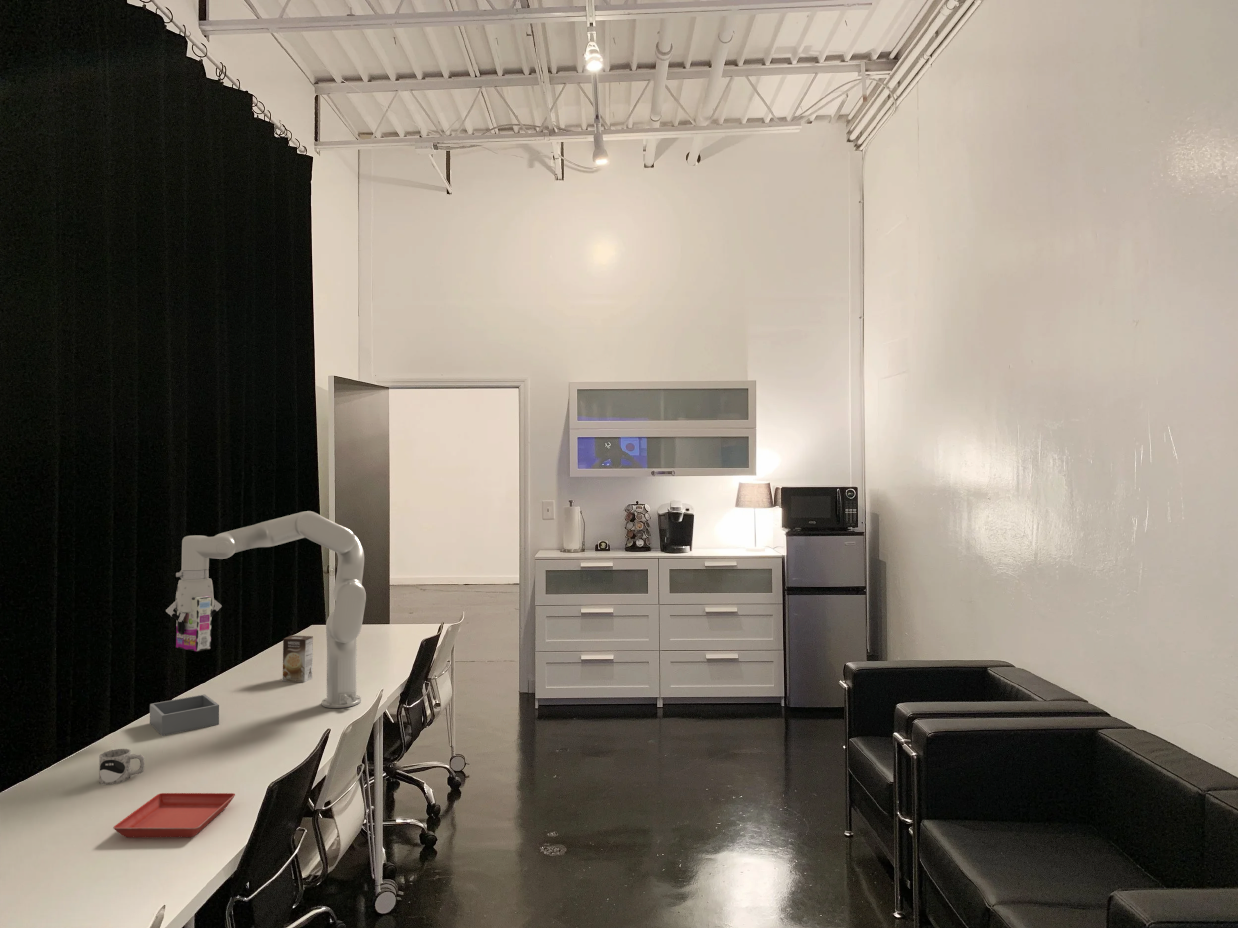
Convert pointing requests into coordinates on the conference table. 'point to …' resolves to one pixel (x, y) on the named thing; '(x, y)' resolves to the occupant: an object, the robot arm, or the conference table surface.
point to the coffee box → (297, 658)
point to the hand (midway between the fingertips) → (193, 631)
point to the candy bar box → (196, 626)
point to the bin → (184, 714)
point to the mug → (117, 766)
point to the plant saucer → (174, 815)
